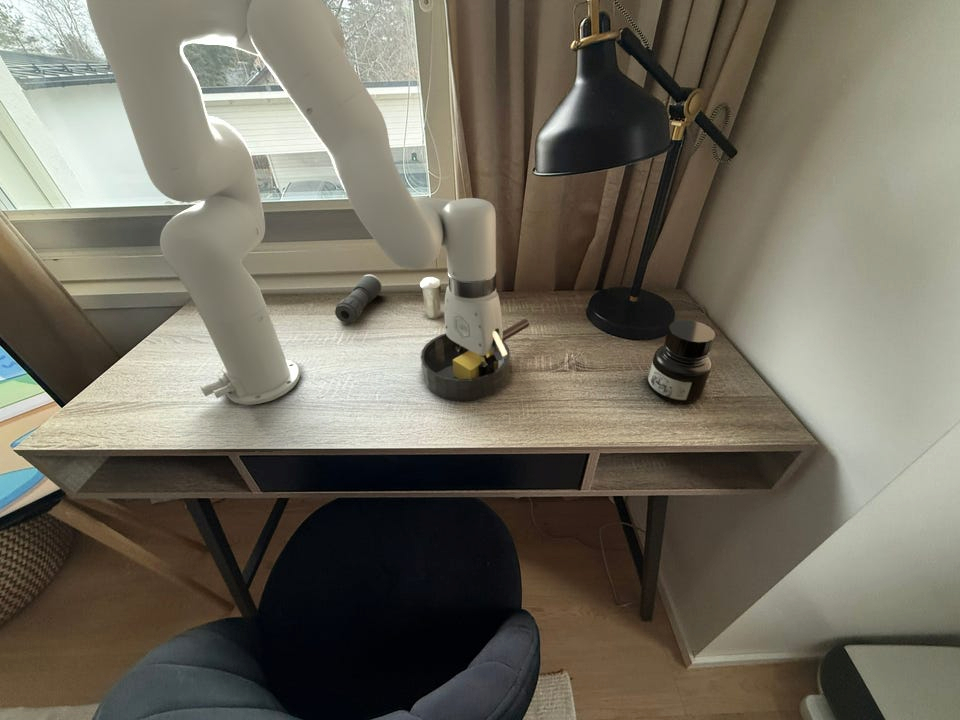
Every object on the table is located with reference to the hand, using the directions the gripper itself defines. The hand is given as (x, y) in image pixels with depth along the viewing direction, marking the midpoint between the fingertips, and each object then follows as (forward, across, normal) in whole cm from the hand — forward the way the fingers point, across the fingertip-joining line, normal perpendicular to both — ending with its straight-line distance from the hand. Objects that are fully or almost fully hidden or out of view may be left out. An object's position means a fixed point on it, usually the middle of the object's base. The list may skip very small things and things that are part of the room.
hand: (476, 372), depth 77 cm
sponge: (+1, 0, 0) cm, 1 cm away
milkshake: (+1, -24, +10) cm, 26 cm away
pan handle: (-1, -3, +13) cm, 13 cm away
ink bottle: (+2, +27, +22) cm, 35 cm away
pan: (+1, -3, 0) cm, 3 cm away
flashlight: (+1, -40, 0) cm, 40 cm away
